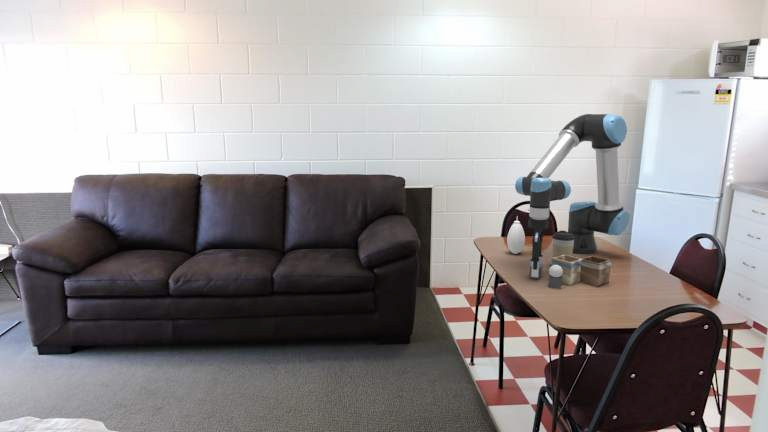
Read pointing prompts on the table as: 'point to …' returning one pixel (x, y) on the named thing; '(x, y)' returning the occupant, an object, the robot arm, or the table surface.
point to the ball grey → (555, 271)
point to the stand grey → (554, 282)
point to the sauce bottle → (516, 238)
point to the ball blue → (539, 263)
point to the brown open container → (595, 271)
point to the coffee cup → (562, 243)
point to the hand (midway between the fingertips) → (535, 274)
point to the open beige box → (568, 268)
